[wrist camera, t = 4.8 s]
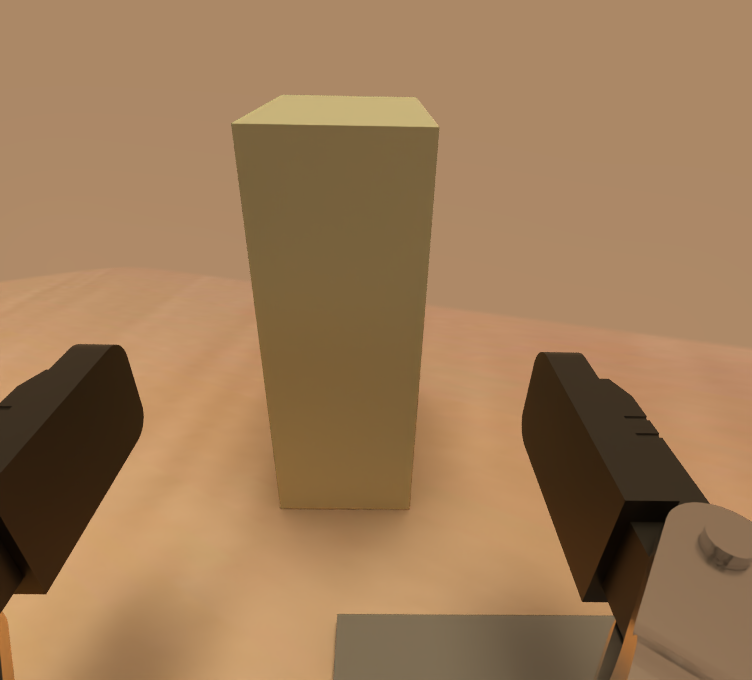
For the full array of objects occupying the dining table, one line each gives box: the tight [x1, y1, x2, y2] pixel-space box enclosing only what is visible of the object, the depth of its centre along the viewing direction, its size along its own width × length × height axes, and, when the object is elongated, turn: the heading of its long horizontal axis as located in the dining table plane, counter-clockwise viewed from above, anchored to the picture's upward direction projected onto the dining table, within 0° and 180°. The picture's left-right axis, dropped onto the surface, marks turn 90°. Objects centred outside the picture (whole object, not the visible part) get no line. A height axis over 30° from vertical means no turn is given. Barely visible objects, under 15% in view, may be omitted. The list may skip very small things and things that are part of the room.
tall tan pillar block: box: [231, 95, 439, 509], centre depth 15 cm, size 4×6×11 cm, turn 0°
